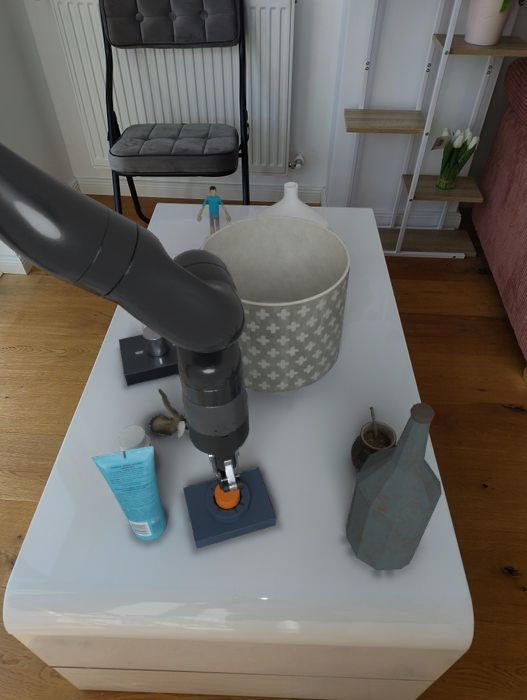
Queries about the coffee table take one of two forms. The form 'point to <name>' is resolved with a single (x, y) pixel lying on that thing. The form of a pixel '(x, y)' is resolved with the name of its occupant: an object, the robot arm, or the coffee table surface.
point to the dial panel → (146, 361)
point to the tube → (135, 489)
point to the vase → (294, 207)
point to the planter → (286, 297)
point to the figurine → (213, 209)
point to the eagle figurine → (168, 420)
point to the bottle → (394, 498)
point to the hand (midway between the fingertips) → (226, 484)
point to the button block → (228, 510)
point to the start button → (227, 498)
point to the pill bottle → (133, 438)
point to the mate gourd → (372, 441)
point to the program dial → (154, 343)
